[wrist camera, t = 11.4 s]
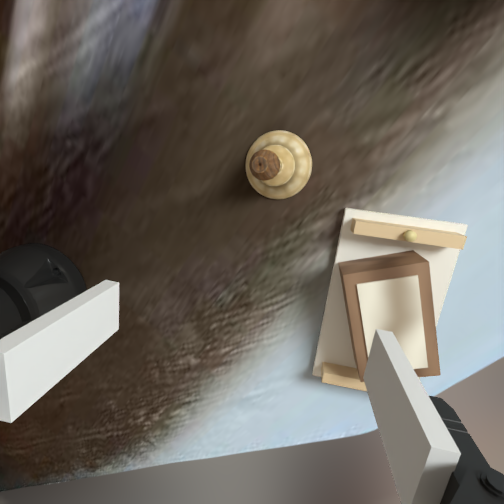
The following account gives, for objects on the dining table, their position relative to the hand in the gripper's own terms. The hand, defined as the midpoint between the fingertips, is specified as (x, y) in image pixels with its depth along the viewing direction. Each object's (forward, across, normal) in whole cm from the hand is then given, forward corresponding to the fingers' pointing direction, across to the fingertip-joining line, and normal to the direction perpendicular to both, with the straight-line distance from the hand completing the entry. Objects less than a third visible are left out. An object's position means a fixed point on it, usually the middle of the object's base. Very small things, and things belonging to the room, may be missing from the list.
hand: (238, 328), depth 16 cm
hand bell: (+27, -1, +8) cm, 28 cm away
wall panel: (+26, +15, -8) cm, 31 cm away
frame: (+26, +15, -8) cm, 31 cm away
